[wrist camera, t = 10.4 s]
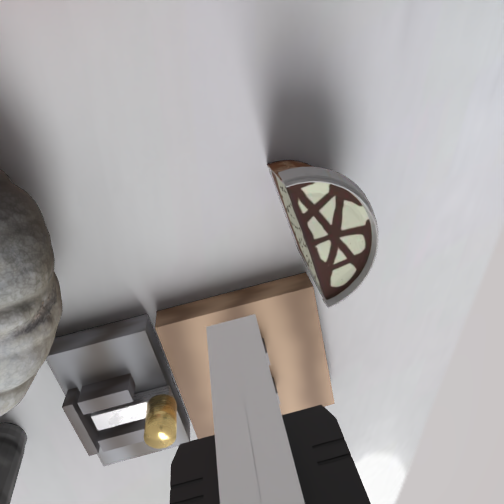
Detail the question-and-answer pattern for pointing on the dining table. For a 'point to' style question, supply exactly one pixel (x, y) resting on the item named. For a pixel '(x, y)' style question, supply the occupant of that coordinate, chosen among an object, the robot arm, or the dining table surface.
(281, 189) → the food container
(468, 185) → the dining table surface
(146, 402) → the bolt
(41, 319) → the gourd
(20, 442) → the beverage cup
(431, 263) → the dining table surface
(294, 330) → the door board
